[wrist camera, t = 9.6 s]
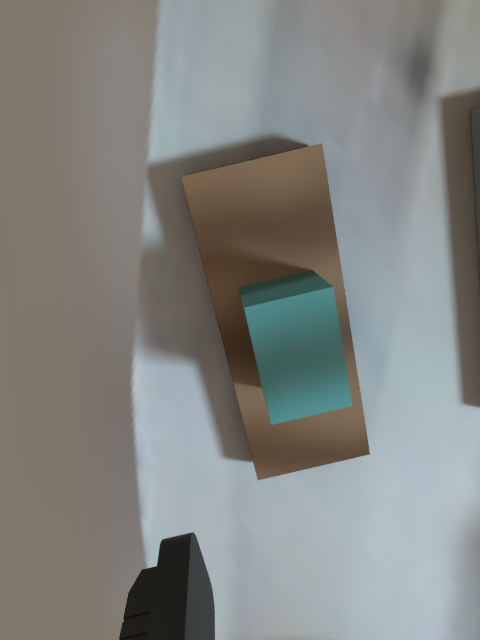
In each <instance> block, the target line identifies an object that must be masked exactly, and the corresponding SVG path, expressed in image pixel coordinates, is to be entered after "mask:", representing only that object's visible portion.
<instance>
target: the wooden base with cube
mask: <svg viewBox="0 0 480 640" xmlns="http://www.w3.org/2000/svg"><path fill="white" fill-rule="evenodd" d="M181 178H182V182H183V186H184V190H185V194H186V198H187V202H188V206H189V210H190V214H191V218H192V222H193V226H194V230H195V233H196V237H197V241H198V245H199V249H200V253H201V257H202V261H203V265H204V269H205V273H206V277H207V281H208V285H209V289H210V293H211V297H212V301H213V305H214V309H215V313H216V316H217V320H218V324H219V328H220V332H221V336H222V340H223V344H224V348H225V352H226V356H227V360H228V364H229V368H230V372H231V376H232V380H233V384H234V388H235V392H236V396H237V399H238V403H239V407H240V411H241V415H242V419H243V423H244V427H245V431H246V435H247V439H248V443H249V447H250V451H251V455H252V459H253V463H254V467H255V471H256V475H257V478H258V480H261V479H265V478H269V477H274V476H278V475H282V474H287V473H291V472H295V471H300V470H304V469H308V468H312V467H317V466H321V465H325V464H330V463H334V462H338V461H343V460H347V459H351V458H355V457H360V456H364V455H368V454H370V452H369V446H368V439H367V433H366V426H365V420H364V413H363V407H362V400H361V394H360V387H359V381H358V374H357V368H356V361H355V355H354V348H353V342H352V335H351V329H350V322H349V316H348V309H347V303H346V296H345V290H344V283H343V277H342V270H341V264H340V257H339V251H338V244H337V238H336V231H335V225H334V218H333V212H332V206H331V199H330V193H329V186H328V180H327V173H326V167H325V160H324V154H323V147H322V144H318V145H313V146H309V147H305V148H301V149H296V150H292V151H288V152H284V153H280V154H275V155H271V156H267V157H263V158H258V159H254V160H250V161H246V162H241V163H237V164H233V165H229V166H225V167H220V168H216V169H212V170H208V171H203V172H199V173H195V174H191V175H186V176H182V177H181Z"/></svg>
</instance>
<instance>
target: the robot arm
mask: <svg viewBox="0 0 480 640" xmlns="http://www.w3.org/2000/svg"><path fill="white" fill-rule="evenodd" d="M119 639H120V640H215V610H214V598H213V591H212V586H211V582H210V578H209V575H208V572H207V569H206V566H205V563H204V559H203V556H202V553H201V550H200V547H199V544H198V541H197V538H196V535H195V534H194V533H193V532H192V533H188V534H184V535H179V536H175V537H171V538H166V539H163V540H162V541H161V544H160V550H159V556H158V563H157V566H156V567H152V568H147V569H143V570H142V571H141V572H140V574H139V576H138V578H137V579H136V581H135V583H134V584H133V586H132V588H131V589H130V591H129V593H128V598H127V603H126V608H125V613H124V622H123V623H122V628H121V633H120V637H119Z"/></svg>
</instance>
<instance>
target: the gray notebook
mask: <svg viewBox="0 0 480 640" xmlns="http://www.w3.org/2000/svg"><path fill="white" fill-rule="evenodd" d="M471 128H472V146H473V165H474V183H475V202H476V220H477V238H478V257H479V275H480V107H478V108H475V109H471Z"/></svg>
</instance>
